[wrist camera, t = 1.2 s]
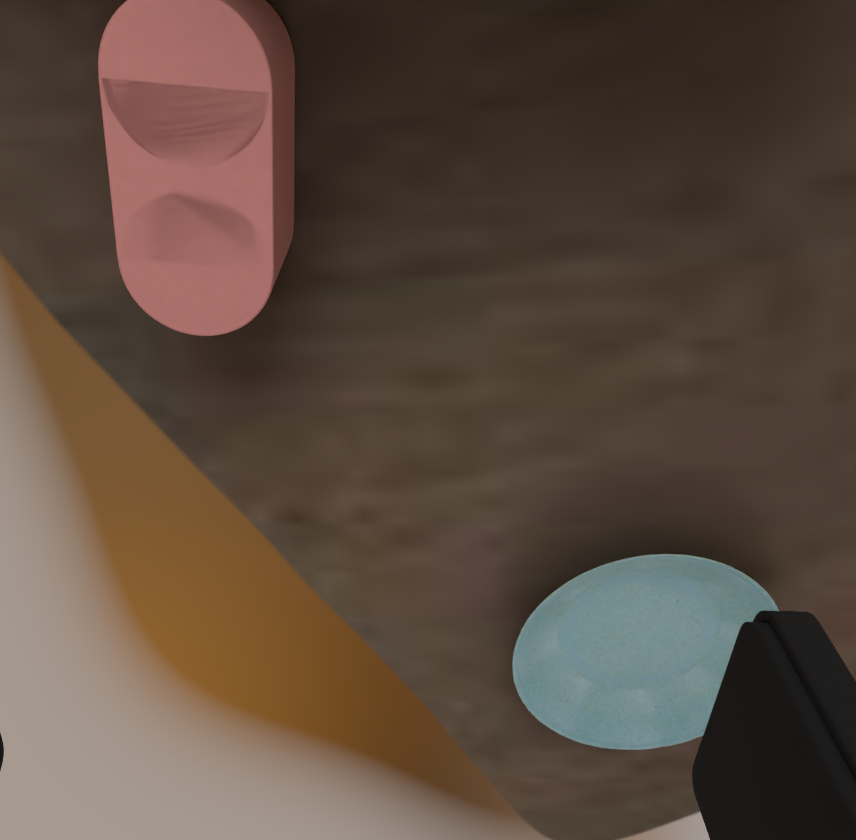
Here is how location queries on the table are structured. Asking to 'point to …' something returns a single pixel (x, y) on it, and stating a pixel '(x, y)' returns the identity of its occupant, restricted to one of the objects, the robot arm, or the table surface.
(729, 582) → the saucer
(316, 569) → the table surface
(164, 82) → the pink notched rounded block
